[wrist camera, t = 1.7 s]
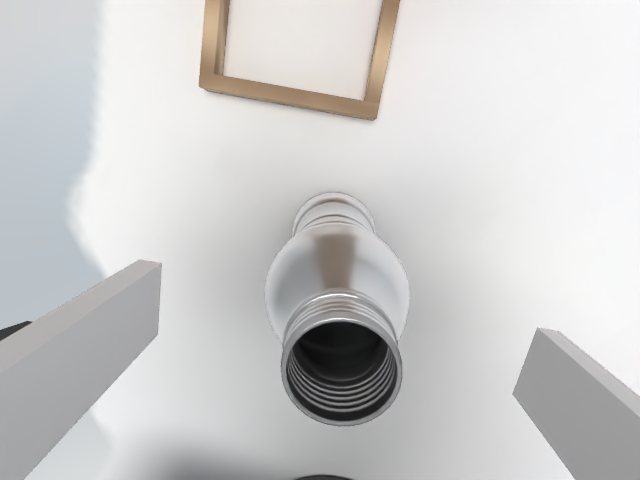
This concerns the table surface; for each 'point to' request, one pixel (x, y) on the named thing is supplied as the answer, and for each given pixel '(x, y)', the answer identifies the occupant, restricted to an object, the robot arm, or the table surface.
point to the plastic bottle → (338, 312)
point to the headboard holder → (249, 89)
